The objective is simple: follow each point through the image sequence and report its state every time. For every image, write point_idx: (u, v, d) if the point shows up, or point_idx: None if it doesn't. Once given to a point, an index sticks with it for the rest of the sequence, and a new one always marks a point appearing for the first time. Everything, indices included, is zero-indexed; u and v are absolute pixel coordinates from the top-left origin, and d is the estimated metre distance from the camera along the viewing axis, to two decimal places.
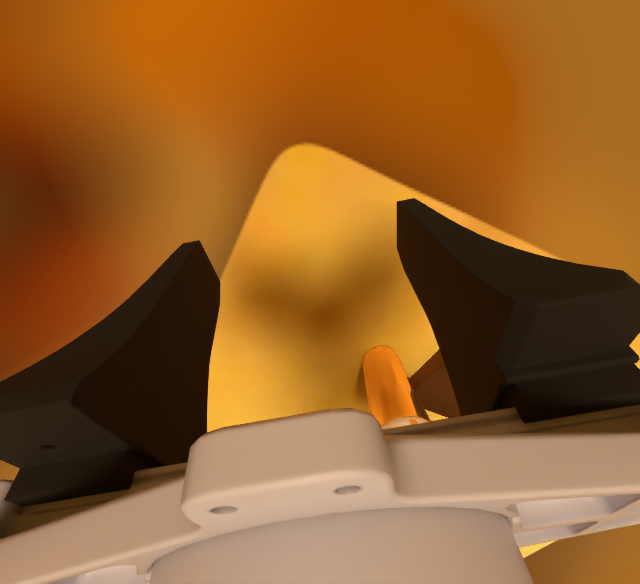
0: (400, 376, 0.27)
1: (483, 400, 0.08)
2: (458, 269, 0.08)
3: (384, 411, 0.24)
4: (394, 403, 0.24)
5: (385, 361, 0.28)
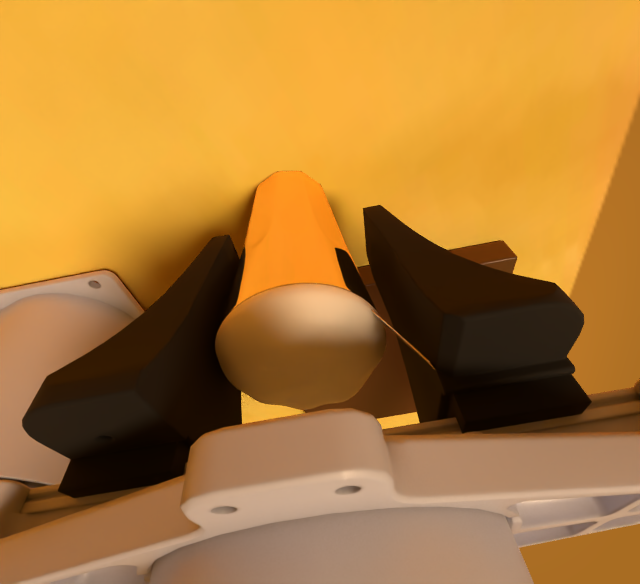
0: None
1: (432, 409, 0.08)
2: (407, 278, 0.08)
3: (311, 261, 0.08)
4: (339, 262, 0.09)
5: (322, 200, 0.13)
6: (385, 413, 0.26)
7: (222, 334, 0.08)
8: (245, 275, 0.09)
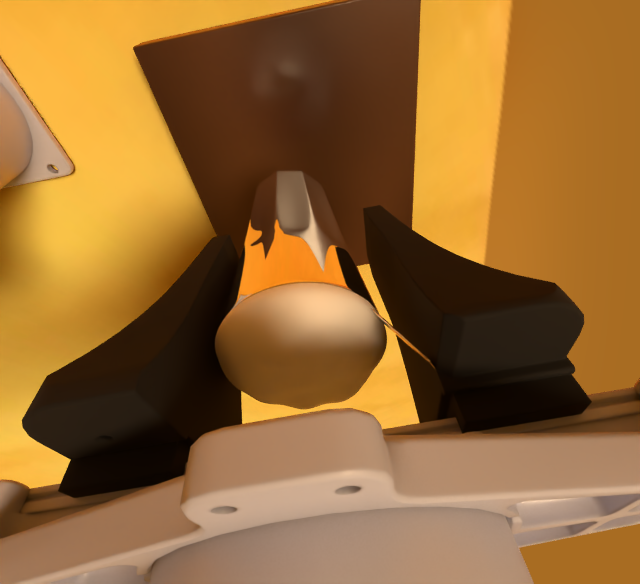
0: None
1: (432, 409, 0.08)
2: (407, 278, 0.08)
3: (311, 260, 0.08)
4: (339, 261, 0.09)
5: (322, 199, 0.13)
6: None
7: (222, 333, 0.08)
8: (245, 274, 0.09)
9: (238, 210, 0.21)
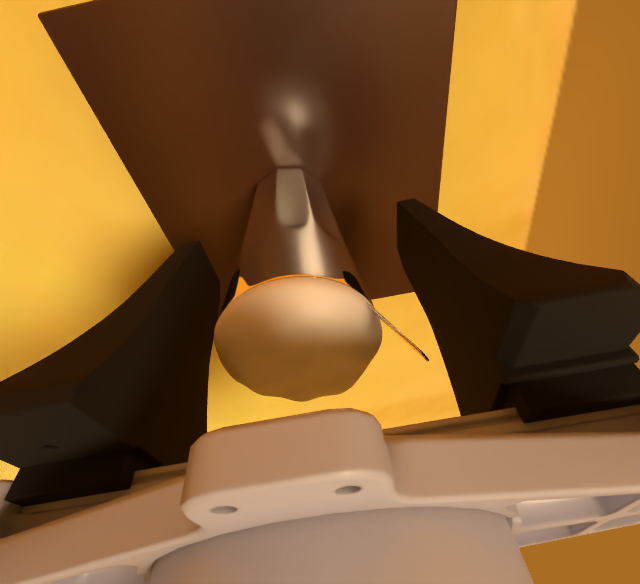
0: None
1: (483, 400, 0.08)
2: (458, 269, 0.08)
3: (308, 255, 0.09)
4: (336, 256, 0.09)
5: (321, 196, 0.13)
6: None
7: (220, 326, 0.08)
8: (244, 269, 0.09)
9: (210, 238, 0.16)
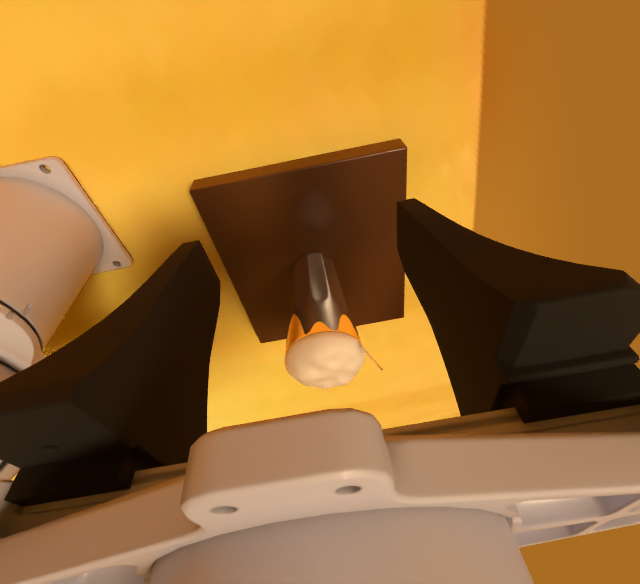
0: None
1: (483, 400, 0.08)
2: (458, 269, 0.08)
3: (330, 319, 0.18)
4: (343, 317, 0.19)
5: (333, 273, 0.22)
6: None
7: (290, 353, 0.18)
8: (298, 324, 0.19)
9: (262, 290, 0.26)
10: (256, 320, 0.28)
